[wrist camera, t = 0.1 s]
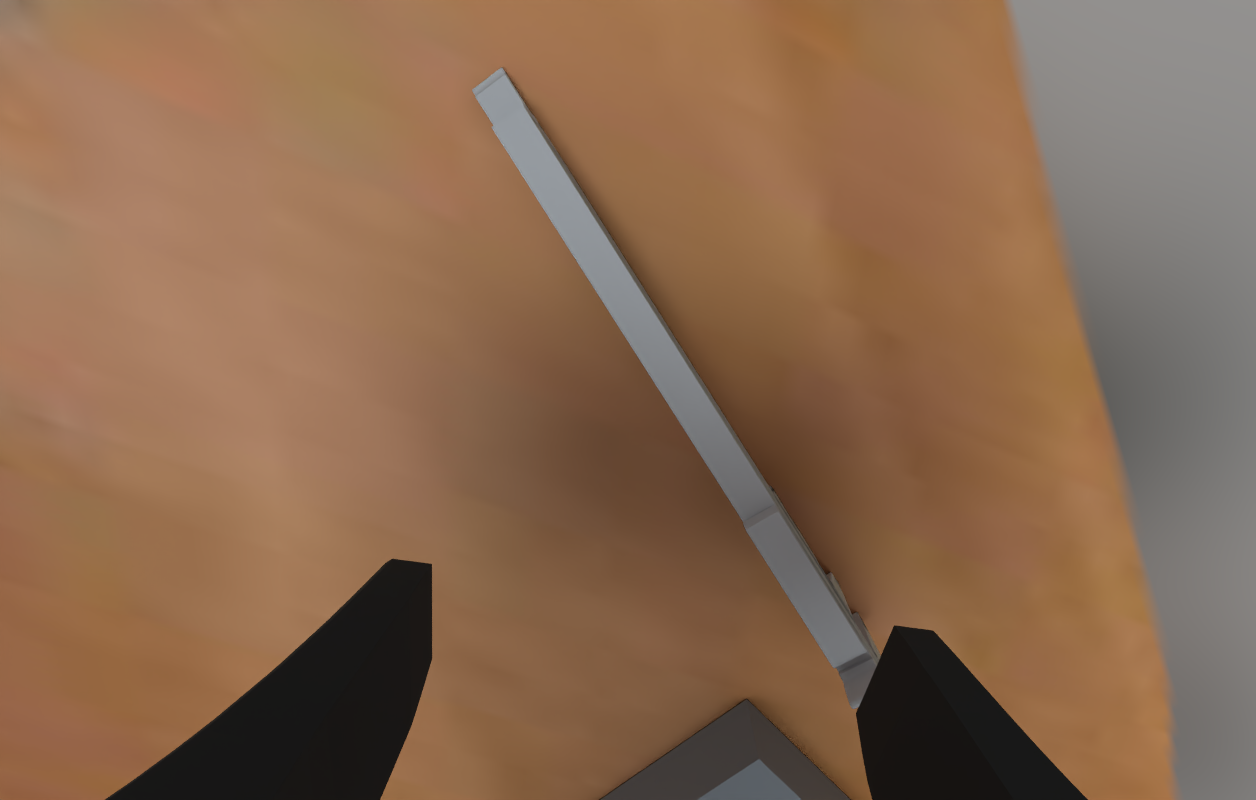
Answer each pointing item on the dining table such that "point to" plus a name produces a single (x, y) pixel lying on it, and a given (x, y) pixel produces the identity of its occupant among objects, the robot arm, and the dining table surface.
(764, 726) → the frame
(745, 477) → the caliper
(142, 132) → the dining table surface
